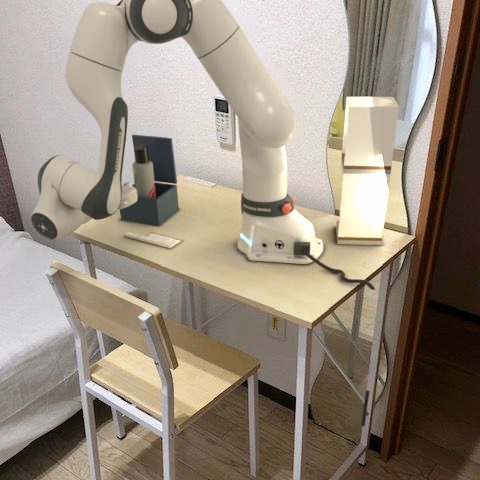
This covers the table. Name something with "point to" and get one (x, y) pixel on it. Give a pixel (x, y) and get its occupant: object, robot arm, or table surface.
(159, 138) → the lid
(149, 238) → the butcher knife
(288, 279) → the table surface
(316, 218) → the table surface
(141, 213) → the chest
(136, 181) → the lotion bottle
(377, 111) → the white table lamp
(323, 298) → the table surface
